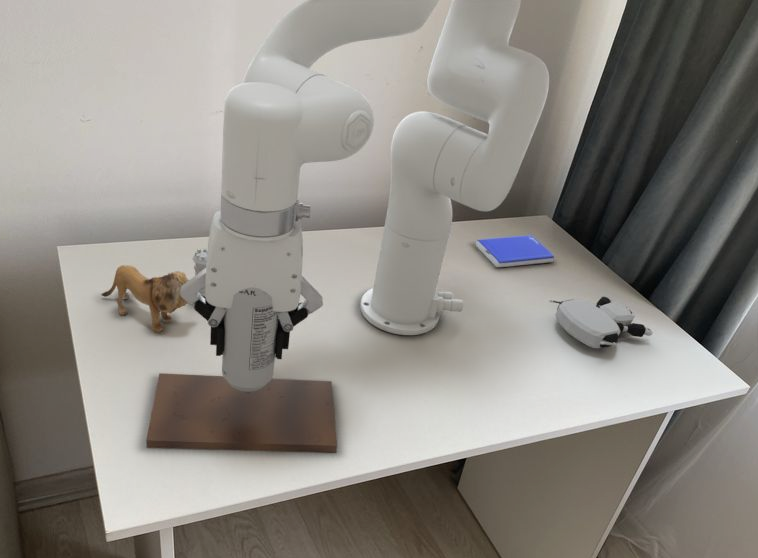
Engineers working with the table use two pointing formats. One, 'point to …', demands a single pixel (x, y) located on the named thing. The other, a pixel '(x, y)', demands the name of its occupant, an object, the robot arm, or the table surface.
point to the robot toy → (597, 321)
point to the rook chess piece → (200, 264)
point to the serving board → (242, 415)
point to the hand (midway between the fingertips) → (249, 349)
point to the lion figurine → (150, 292)
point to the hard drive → (514, 251)
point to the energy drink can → (249, 340)
